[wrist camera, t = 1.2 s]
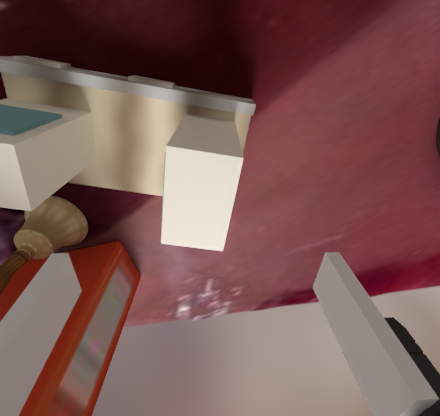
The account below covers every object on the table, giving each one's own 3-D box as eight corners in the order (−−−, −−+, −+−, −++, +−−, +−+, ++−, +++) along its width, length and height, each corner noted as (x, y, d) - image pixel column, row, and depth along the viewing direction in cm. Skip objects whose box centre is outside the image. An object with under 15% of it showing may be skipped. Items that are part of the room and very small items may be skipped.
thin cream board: (252, 95, 26) (256, 100, 23) (230, 198, 32) (231, 212, 29) (11, 52, 24) (-19, 51, 21) (38, 170, 30) (18, 182, 27)
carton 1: (90, 109, 25) (12, 140, 15) (95, 159, 28) (31, 211, 18) (6, 95, 24) (-130, 118, 15) (20, 147, 27) (-88, 195, 18)
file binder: (141, 277, 40) (-29, 752, 13) (47, 295, 42) (-271, 731, 15) (119, 239, 36) (-202, 815, 9) (16, 260, 38) (-499, 773, 11)
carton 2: (183, 112, 25) (161, 145, 16) (235, 121, 25) (243, 158, 16) (177, 183, 29) (157, 243, 20) (222, 189, 30) (222, 251, 20)
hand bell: (20, 228, 35) (-107, 337, 21) (32, 183, 31) (-112, 279, 18) (79, 252, 37) (-2, 364, 24) (96, 213, 34) (12, 318, 20)
